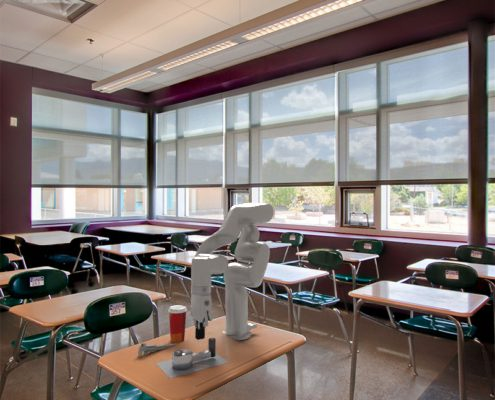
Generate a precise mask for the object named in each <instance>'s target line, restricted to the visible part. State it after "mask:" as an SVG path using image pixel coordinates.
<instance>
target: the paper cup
mask: <svg viewBox="0 0 495 400" xmlns="http://www.w3.org/2000/svg"><path fill="white" fill-rule="evenodd" d="M187 311H188V309H187V306H185V305H182V304H181V305H180V304H177V305H176V304H175V305H171V306H170V307H169V308H168V310H167V312H168V314H169V315H168V317H169V335H170V337H169V338H170V343H171V344H176V343H177V344H179V343H180V344H181V343H184V342H185V336H186V335H185V334H186V320H187V319H186V318H187Z"/></svg>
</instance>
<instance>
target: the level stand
mask: <svg viewBox="0 0 495 400" xmlns="http://www.w3.org/2000/svg"><path fill="white" fill-rule="evenodd" d="M226 364H229V361H227V359H225V358H223V357H222V356H221V355H219V354H218V353H217V352H216V356H215V357H210V358H206V359H202V360H198V361H194V362H193V365H192V367H190V368H188V369H185V370H177V369H174V368H173V367H172V358H171V359H167V360H164V361H160V362H156V363H155V365H156V366H157V367H158V368H159V369H160V370H161V371H162V372H163V373H164V374H165V375H166V376H167V377H168V378H169V379H173V378H176V377H177V378H178V377H179V376H184V375H187V374H190V373H191V374H192V373H195V372H198V371H202V370H206V369H209V368H213V367H218V366H220V365H226Z"/></svg>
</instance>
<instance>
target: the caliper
mask: <svg viewBox="0 0 495 400" xmlns="http://www.w3.org/2000/svg"><path fill="white" fill-rule="evenodd" d="M176 345H178V343H166V344H159V345H157V344H147V343H146V342H141V344H140V345H139V348H138V351H137V356H138V357H139V358H140V357H142V356H147V355H148V353H151V354H152V353H156V352H157V351H159V350H164V349H168V348H170V347H173V346H176Z"/></svg>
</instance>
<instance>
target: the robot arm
mask: <svg viewBox="0 0 495 400" xmlns="http://www.w3.org/2000/svg"><path fill="white" fill-rule="evenodd" d="M274 214H275V209H274V207H273V205H271V203H268V202H246V203H241V204H234V205H233V206H231V207H230V208H229V210H228V212H227V214H226V216H225V218H224V220H223V222H222V223H221V226H220V227H219V228H218V230H217V231H216V232H214V233H212V234H211V235H210V236H209V237H207V238H206V239H205V240H204V241H202V243H201V244H200V245H199V247H198V249H197V251H196V252H195V255H194V257H192V259H191V263H190V265H191V266H190V267H191V270H190V275H191V276H190V295H191V297H190V310H189V311H190V316H191V318H192V319H193V320H194V328H195V332H194V336H195V337H194V338H195V339H196V340H197V341H199V340H205V338H206V337H205V336H206V327H208V326H209V322H212V321H213V299H212V295H211V294H212V275H221V274H223V280H224V284H225V330H223V331H222V334H223V335H224V334H225V335H226V336H228V337H230V338H231V339H233V341H245V340H248V339H249V338H251V336H252V332H251V330H254V329H257V328H258V325H257V324H256V323H253V324H252V323H250V322H249V323H248V320H249V319H248V316H249V315H248V312H249V310H248V305H249V303H248V302H249V296H248V295H249V294H248V291H247V289H246V288H258V287H259V286H261V284H262V282H263V279H265V278H264V277H265V274H266V271H267V268H268V264H269V261H270V255H271V250H270V247H269V245H268V244H267V243H266V242H264V241H259V239H260V230H259V228H258V226H257V225H261V224H266V223H269V222H270V221H271V220H273V218H274ZM236 241H237V244H236V247H235V250H234V258H235V259H236V261H237V262H229V259H228V258H227V257H226V256H224V255H223V254H215V253H213V252H214V251H216V250H218V249H219V248H221V247H225V246H227V245H230V244H233V243H235V242H236Z"/></svg>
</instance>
